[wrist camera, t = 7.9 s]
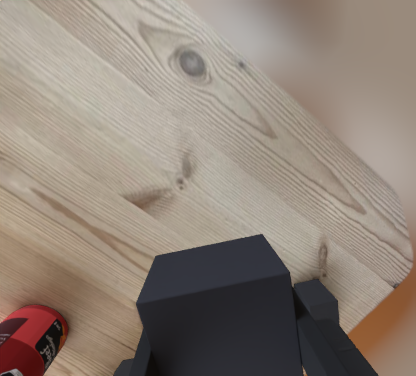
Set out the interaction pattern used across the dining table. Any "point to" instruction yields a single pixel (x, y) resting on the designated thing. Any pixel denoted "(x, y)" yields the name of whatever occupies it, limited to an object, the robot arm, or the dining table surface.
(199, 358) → the loose pad
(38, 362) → the canned food
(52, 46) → the dining table surface
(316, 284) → the base pad
